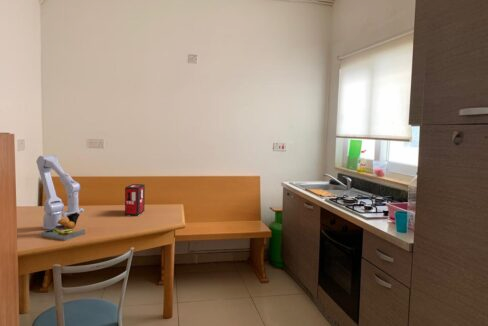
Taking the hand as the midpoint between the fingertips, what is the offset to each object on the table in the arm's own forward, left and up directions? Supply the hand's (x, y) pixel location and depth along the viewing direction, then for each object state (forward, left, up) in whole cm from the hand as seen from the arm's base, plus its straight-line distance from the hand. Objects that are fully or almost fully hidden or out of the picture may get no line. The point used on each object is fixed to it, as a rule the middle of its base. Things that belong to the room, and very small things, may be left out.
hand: (73, 226), depth 219 cm
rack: (0, -7, -3) cm, 8 cm away
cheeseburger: (0, -7, -4) cm, 8 cm away
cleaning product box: (+2, +55, -4) cm, 55 cm away
